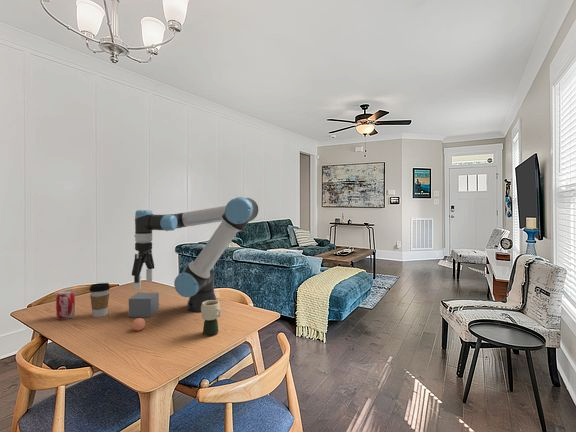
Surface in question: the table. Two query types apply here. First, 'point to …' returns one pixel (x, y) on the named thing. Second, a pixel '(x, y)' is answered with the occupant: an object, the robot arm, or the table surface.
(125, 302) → the table surface
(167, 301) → the table surface
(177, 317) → the table surface
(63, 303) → the soda can
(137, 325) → the ball
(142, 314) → the grey cubic block
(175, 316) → the table surface
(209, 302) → the character mug
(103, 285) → the coffee cup
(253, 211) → the robot arm
